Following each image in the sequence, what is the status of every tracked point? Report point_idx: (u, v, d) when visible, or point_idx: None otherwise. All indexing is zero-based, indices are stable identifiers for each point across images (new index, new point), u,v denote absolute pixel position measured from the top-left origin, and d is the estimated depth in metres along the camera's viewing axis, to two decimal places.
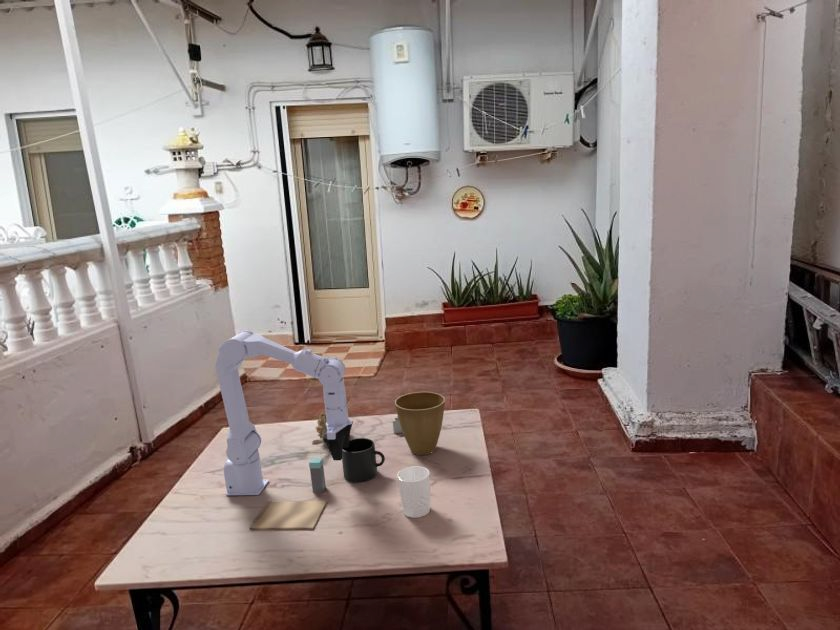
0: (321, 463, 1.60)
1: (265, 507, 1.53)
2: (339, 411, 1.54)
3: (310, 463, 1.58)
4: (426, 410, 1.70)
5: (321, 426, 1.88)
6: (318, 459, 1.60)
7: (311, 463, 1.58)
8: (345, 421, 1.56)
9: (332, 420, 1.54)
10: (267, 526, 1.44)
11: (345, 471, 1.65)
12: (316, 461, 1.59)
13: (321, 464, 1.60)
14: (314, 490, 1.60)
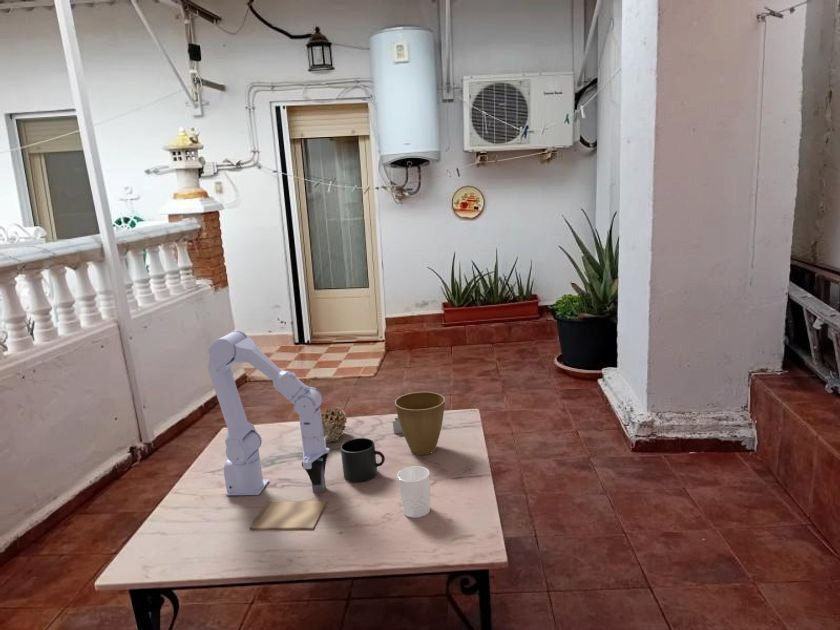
0: None
1: (265, 507, 1.53)
2: (315, 440, 1.56)
3: None
4: (426, 410, 1.70)
5: None
6: (318, 459, 1.60)
7: None
8: (321, 450, 1.57)
9: (309, 449, 1.56)
10: (267, 526, 1.44)
11: (345, 471, 1.65)
12: None
13: None
14: (314, 490, 1.60)
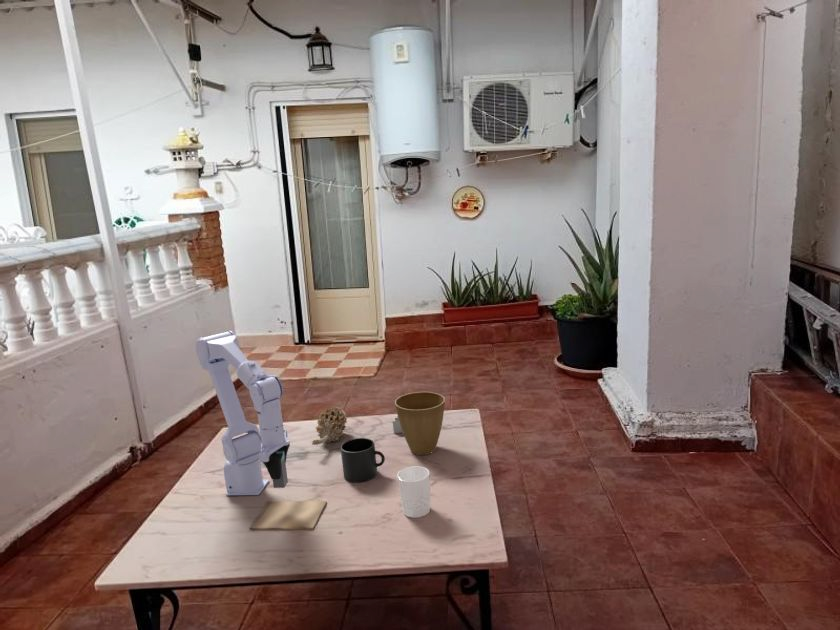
0: (282, 457, 1.50)
1: (265, 507, 1.53)
2: (274, 431, 1.46)
3: None
4: (426, 410, 1.70)
5: (321, 426, 1.88)
6: (279, 452, 1.50)
7: None
8: (281, 442, 1.47)
9: (267, 441, 1.46)
10: (267, 526, 1.44)
11: (345, 471, 1.65)
12: None
13: (282, 458, 1.50)
14: (275, 486, 1.50)
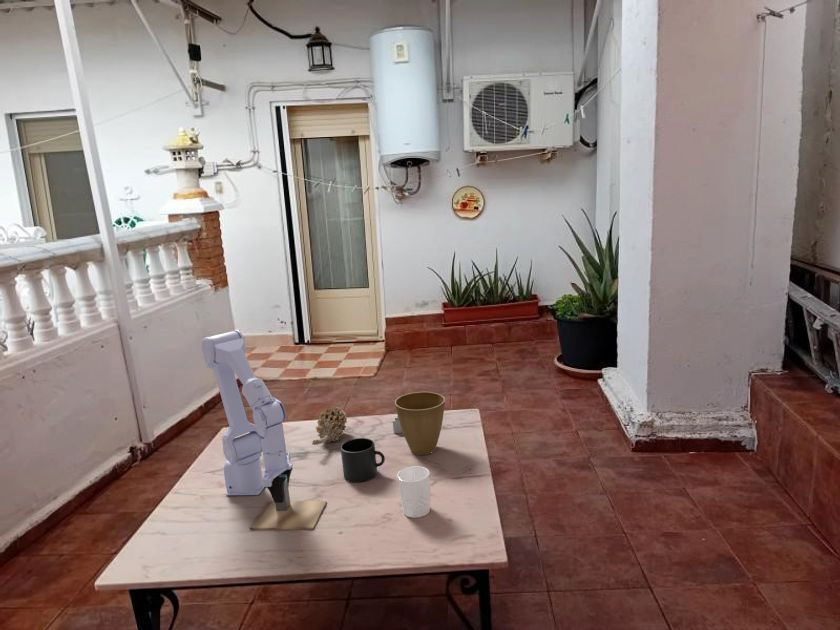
0: (285, 480, 1.51)
1: (265, 507, 1.53)
2: (276, 456, 1.47)
3: None
4: (426, 410, 1.70)
5: (321, 426, 1.88)
6: (282, 476, 1.51)
7: None
8: (283, 466, 1.48)
9: (270, 465, 1.47)
10: (267, 526, 1.44)
11: (345, 471, 1.65)
12: None
13: (285, 481, 1.51)
14: (277, 509, 1.51)
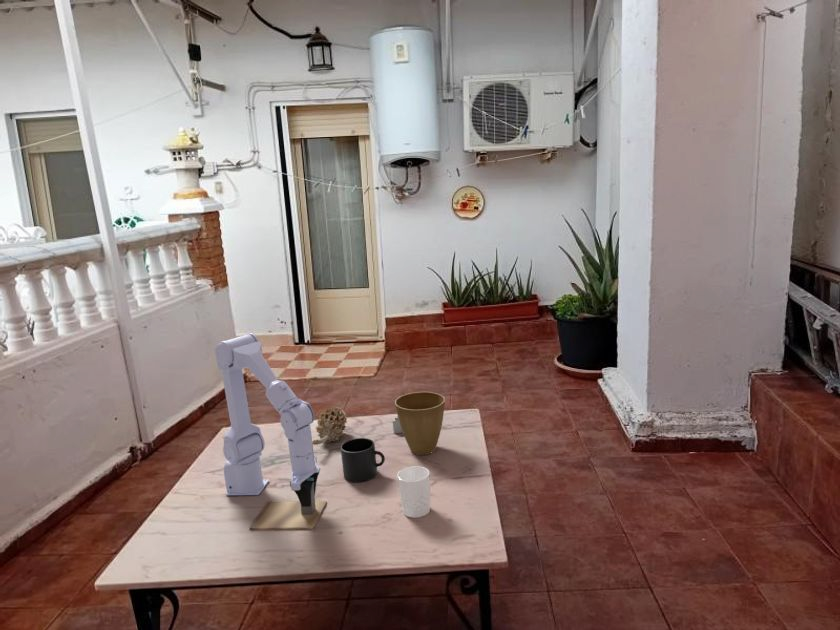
0: None
1: (265, 507, 1.53)
2: (304, 459, 1.44)
3: None
4: (426, 410, 1.70)
5: (321, 426, 1.88)
6: (309, 479, 1.48)
7: None
8: (311, 469, 1.45)
9: (298, 468, 1.44)
10: (267, 526, 1.44)
11: (345, 471, 1.65)
12: None
13: (312, 485, 1.48)
14: (303, 512, 1.48)
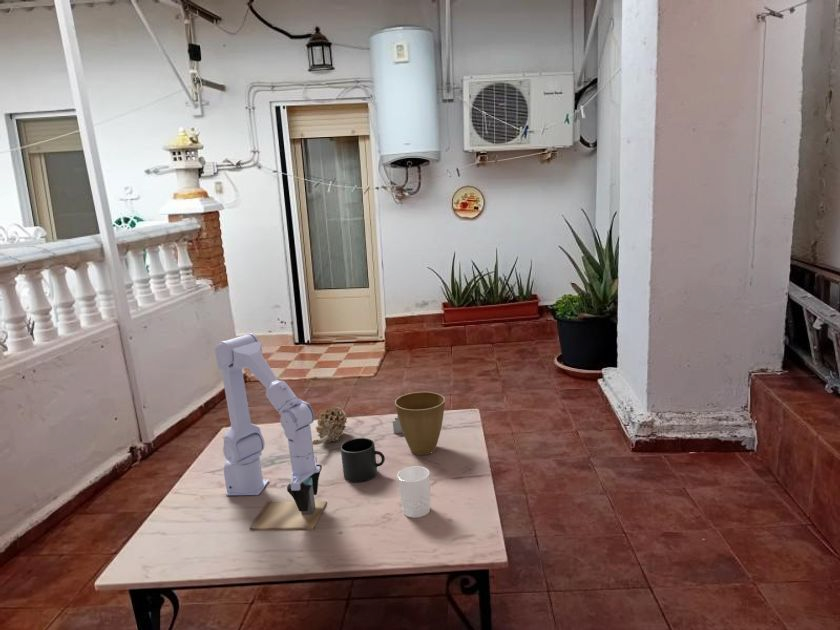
0: (310, 483, 1.48)
1: (265, 507, 1.53)
2: (305, 459, 1.44)
3: None
4: (426, 410, 1.70)
5: (321, 426, 1.88)
6: (307, 479, 1.48)
7: None
8: (311, 469, 1.45)
9: (298, 468, 1.44)
10: (267, 526, 1.44)
11: (345, 471, 1.65)
12: (305, 481, 1.47)
13: None
14: (303, 513, 1.48)
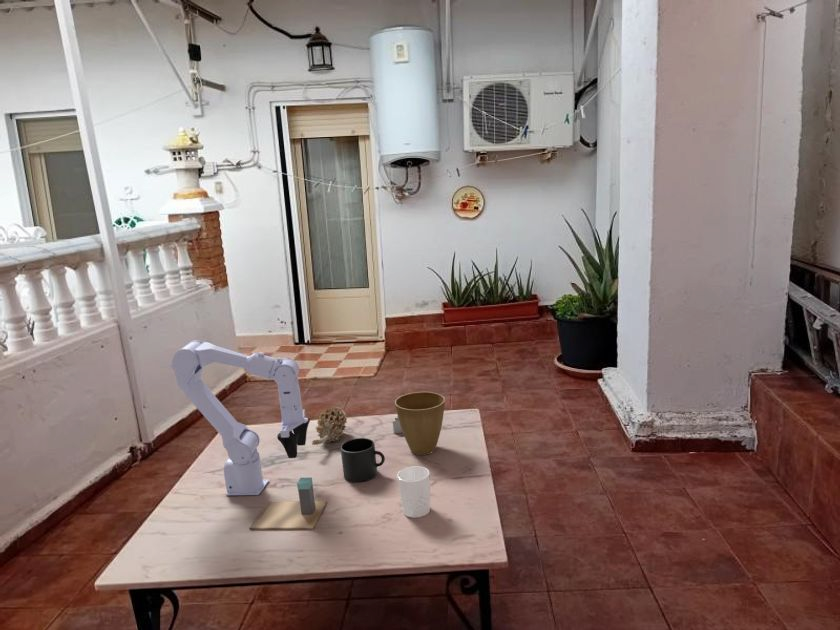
0: (310, 483, 1.48)
1: (265, 507, 1.53)
2: (293, 410, 1.58)
3: (298, 484, 1.47)
4: (426, 410, 1.70)
5: (321, 426, 1.88)
6: (307, 479, 1.48)
7: (299, 484, 1.47)
8: (300, 420, 1.59)
9: (287, 418, 1.58)
10: (267, 526, 1.44)
11: (345, 471, 1.65)
12: (305, 481, 1.47)
13: (310, 485, 1.48)
14: (303, 513, 1.48)
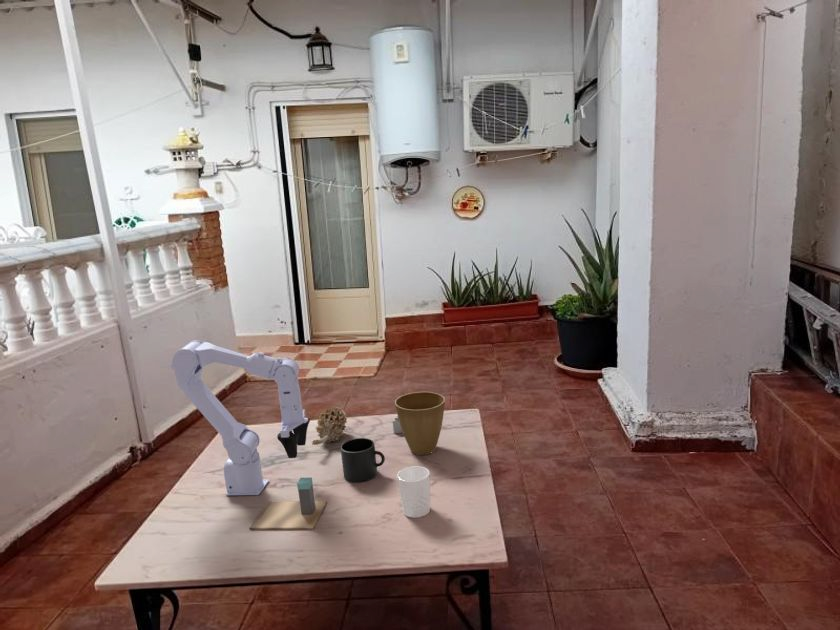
0: (310, 483, 1.48)
1: (265, 507, 1.53)
2: (293, 410, 1.58)
3: (298, 484, 1.47)
4: (426, 410, 1.70)
5: (321, 426, 1.88)
6: (307, 479, 1.48)
7: (299, 484, 1.47)
8: (300, 420, 1.59)
9: (287, 418, 1.58)
10: (267, 526, 1.44)
11: (345, 471, 1.65)
12: (305, 481, 1.47)
13: (310, 485, 1.48)
14: (303, 513, 1.48)
